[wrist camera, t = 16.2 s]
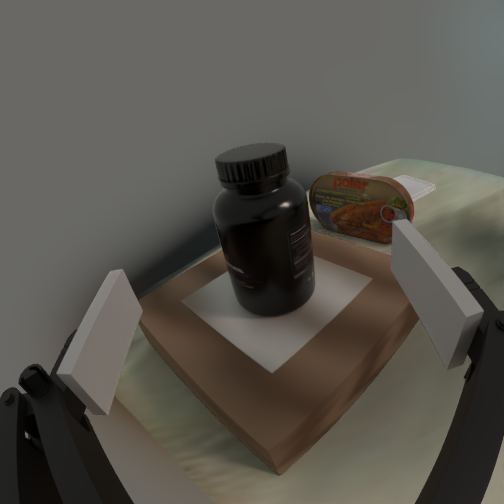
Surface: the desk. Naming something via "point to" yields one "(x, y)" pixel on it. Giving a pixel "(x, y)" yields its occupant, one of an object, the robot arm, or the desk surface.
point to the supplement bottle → (264, 229)
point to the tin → (360, 204)
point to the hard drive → (415, 186)
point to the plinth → (281, 346)
